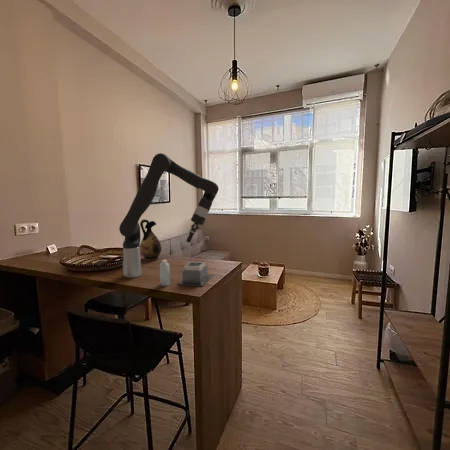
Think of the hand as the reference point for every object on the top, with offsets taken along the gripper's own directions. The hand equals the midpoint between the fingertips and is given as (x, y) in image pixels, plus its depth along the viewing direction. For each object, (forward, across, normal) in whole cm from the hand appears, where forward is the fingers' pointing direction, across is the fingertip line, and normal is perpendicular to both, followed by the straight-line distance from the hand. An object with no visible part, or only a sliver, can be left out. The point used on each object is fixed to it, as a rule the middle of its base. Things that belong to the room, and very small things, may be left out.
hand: (188, 241), depth 139 cm
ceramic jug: (+25, -50, -20) cm, 60 cm away
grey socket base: (+18, +3, +12) cm, 22 cm away
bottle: (+25, +5, -2) cm, 26 cm away
